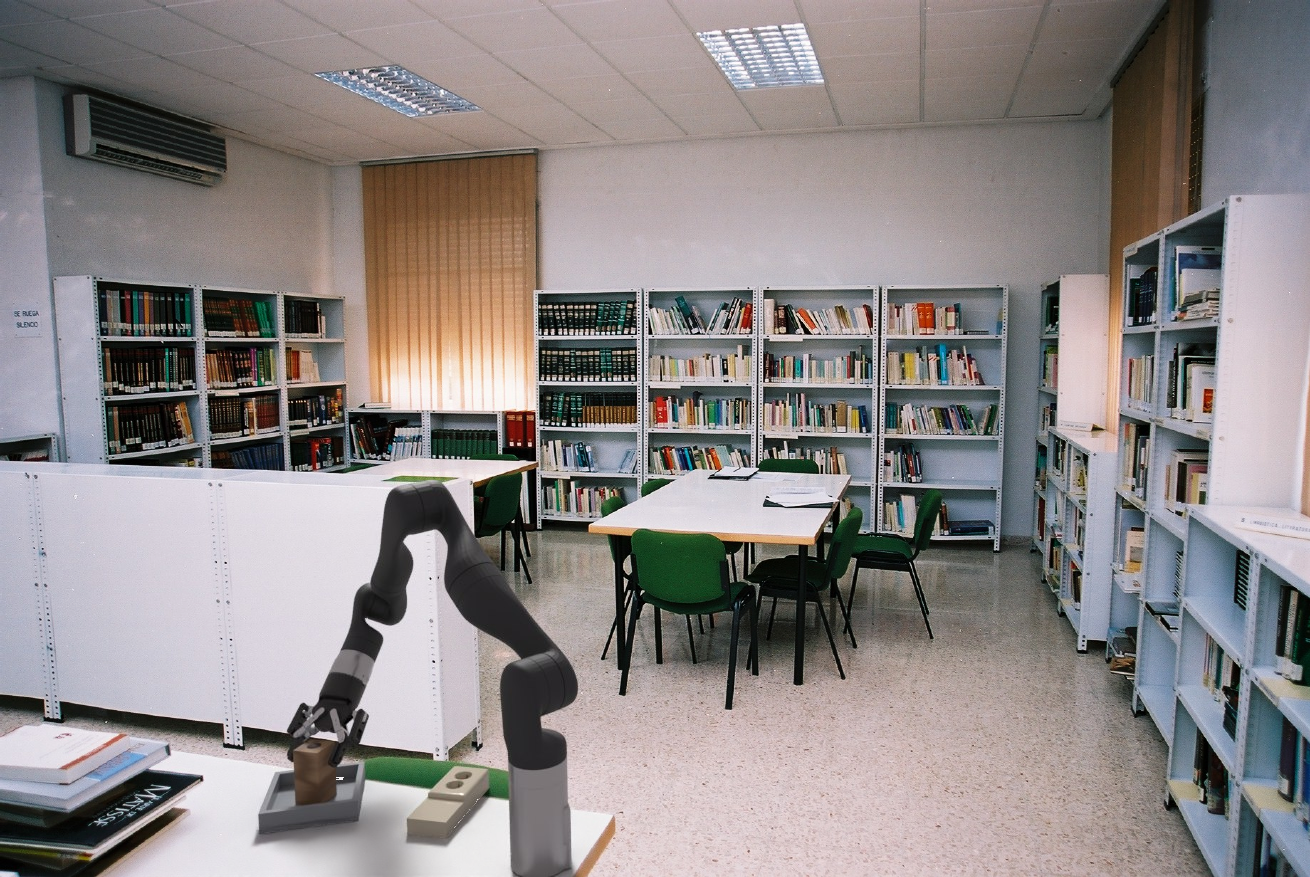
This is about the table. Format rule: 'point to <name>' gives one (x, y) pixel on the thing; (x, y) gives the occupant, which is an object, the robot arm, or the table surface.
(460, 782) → the electrical outlet
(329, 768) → the block
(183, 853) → the table surface
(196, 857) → the table surface
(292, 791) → the tray
